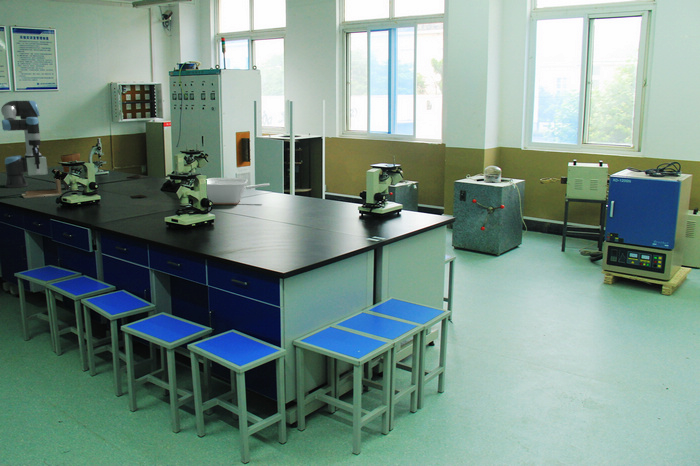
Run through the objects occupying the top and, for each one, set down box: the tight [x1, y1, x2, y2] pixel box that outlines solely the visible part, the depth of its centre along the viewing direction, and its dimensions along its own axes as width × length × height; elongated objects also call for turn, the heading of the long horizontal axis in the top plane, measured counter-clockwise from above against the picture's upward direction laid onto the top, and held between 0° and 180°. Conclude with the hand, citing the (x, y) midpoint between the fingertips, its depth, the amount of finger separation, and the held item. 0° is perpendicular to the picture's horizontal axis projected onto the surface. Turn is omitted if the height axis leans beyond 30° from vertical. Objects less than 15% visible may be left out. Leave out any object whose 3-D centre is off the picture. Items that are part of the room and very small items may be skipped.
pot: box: [205, 177, 270, 205], centre depth 411 cm, size 29×44×15 cm, turn 92°
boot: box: [60, 152, 81, 190], centre depth 458 cm, size 25×9×27 cm, turn 134°
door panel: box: [26, 156, 49, 176], centre depth 422 cm, size 3×12×12 cm, turn 124°
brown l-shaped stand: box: [21, 169, 63, 199], centre depth 426 cm, size 12×24×17 cm, turn 126°
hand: (38, 173), depth 423 cm, fingers closed on door panel, 3 cm apart
